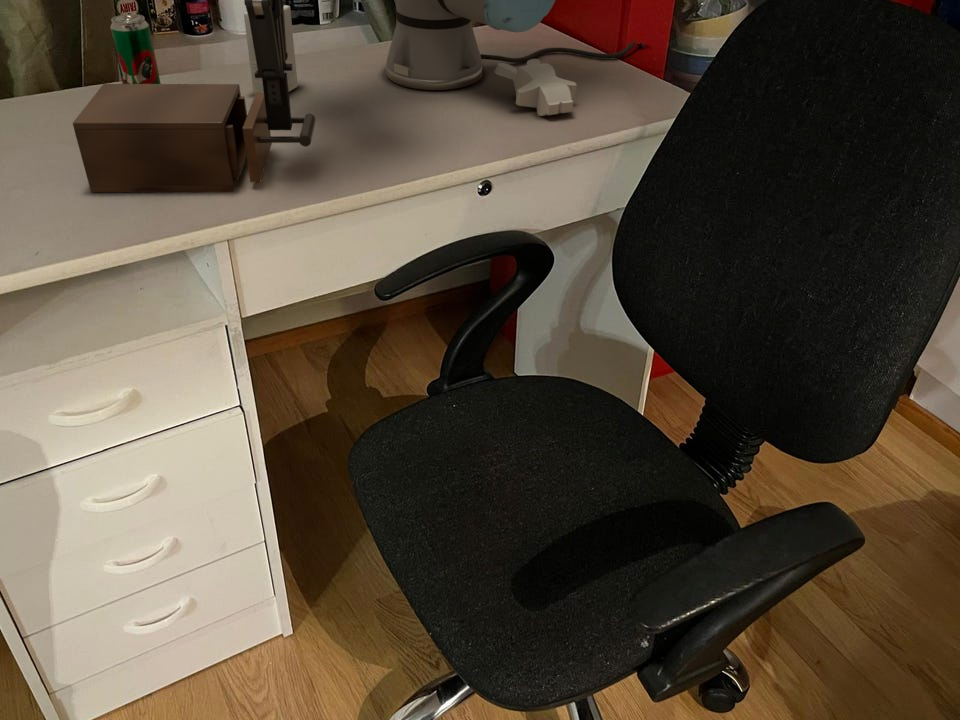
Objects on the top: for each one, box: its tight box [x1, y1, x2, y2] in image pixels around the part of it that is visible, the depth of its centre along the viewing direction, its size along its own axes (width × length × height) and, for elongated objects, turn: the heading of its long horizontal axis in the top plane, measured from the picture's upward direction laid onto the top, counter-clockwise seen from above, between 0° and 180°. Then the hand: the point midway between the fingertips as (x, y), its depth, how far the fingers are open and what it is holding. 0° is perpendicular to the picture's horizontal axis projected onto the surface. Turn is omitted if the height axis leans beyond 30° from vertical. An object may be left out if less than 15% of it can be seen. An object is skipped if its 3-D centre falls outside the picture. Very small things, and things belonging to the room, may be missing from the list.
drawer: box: [224, 93, 317, 183], centre depth 106 cm, size 22×11×7 cm, turn 94°
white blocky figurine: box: [494, 58, 578, 117], centre depth 128 cm, size 10×5×15 cm
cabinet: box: [72, 83, 242, 193], centre depth 105 cm, size 17×13×9 cm
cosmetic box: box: [243, 4, 299, 96], centre depth 126 cm, size 6×4×12 cm
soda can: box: [109, 13, 162, 84], centre depth 121 cm, size 5×5×12 cm
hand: (280, 127), depth 105 cm, fingers closed
